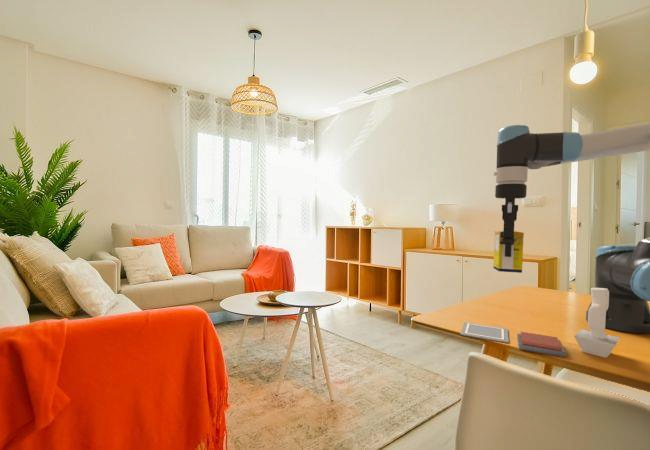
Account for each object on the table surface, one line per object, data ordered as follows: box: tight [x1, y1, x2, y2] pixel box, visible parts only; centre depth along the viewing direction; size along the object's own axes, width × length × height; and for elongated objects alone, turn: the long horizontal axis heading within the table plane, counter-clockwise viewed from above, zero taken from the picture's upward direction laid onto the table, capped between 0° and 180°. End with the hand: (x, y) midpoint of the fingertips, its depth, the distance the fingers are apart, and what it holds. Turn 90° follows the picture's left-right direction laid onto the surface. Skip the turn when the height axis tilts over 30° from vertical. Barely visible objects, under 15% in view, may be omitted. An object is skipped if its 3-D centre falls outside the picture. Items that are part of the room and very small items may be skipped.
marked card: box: [460, 321, 510, 344], centre depth 90 cm, size 11×11×1 cm
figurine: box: [574, 287, 621, 359], centre depth 78 cm, size 7×9×15 cm
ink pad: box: [516, 331, 567, 358], centre depth 80 cm, size 9×8×2 cm
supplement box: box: [492, 230, 525, 274], centre depth 93 cm, size 6×6×11 cm
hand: (507, 266), depth 94 cm, fingers closed on supplement box, 7 cm apart
